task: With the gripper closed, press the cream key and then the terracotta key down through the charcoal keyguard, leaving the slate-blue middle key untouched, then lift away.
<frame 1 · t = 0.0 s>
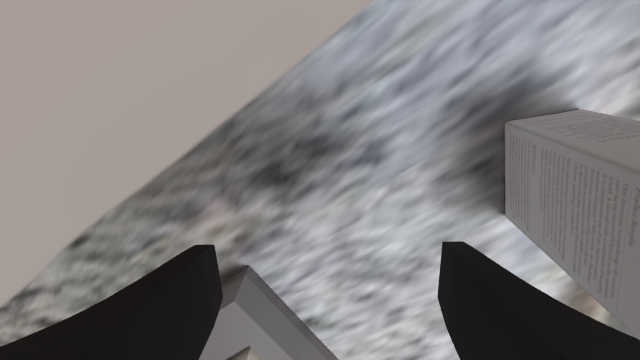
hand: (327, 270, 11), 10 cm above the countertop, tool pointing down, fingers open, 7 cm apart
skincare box: (539, 162, 20), on the countertop
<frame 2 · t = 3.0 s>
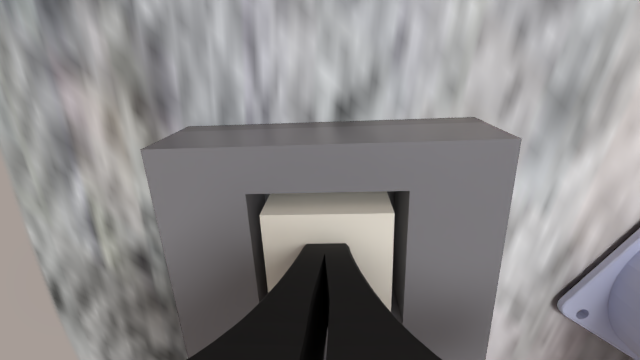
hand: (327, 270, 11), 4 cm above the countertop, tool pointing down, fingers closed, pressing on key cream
key cream: (329, 250, 12), point 3 cm above the countertop, slide at 1.0 cm, touching gripper
slotted grey tray: (335, 343, 17), on the countertop
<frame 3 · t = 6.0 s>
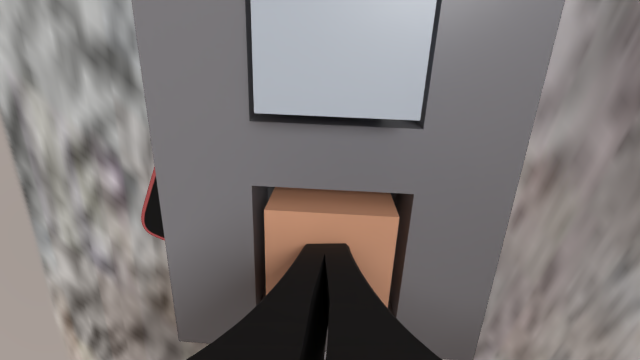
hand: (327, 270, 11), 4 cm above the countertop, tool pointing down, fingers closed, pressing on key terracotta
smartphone: (310, 220, 15), on the countertop
slotted grey tray: (339, 36, 12), on the countertop
key terracotta: (329, 249, 12), point 3 cm above the countertop, slide at 0.9 cm, touching gripper
key slate: (340, 29, 9), point 4 cm above the countertop, slide at 0.0 cm
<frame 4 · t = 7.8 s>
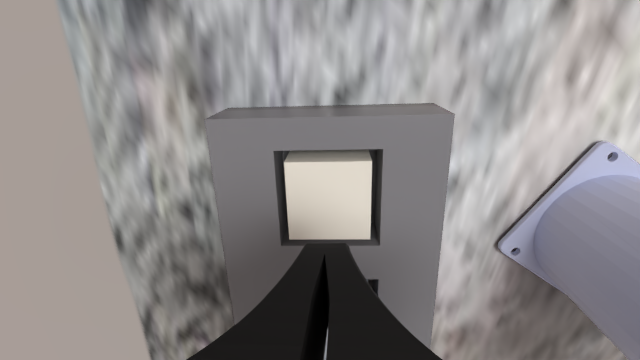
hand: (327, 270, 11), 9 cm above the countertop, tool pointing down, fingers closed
key cream: (329, 192, 17), point 2 cm above the countertop, slide at 1.3 cm
slotted grey tray: (332, 278, 22), on the countertop
key slate: (331, 320, 19), point 4 cm above the countertop, slide at 0.0 cm
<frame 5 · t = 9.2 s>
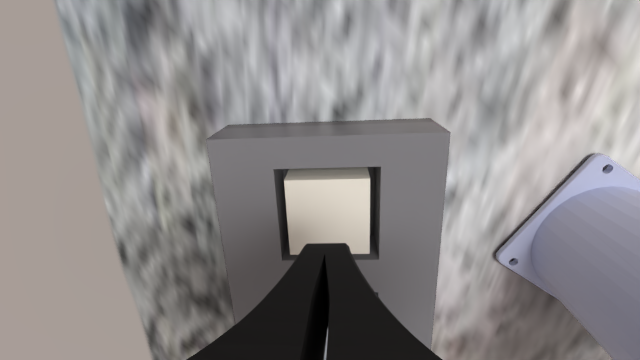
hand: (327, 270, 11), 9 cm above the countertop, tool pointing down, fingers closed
key cream: (328, 207, 18), point 2 cm above the countertop, slide at 1.3 cm
slotted grey tray: (333, 288, 22), on the countertop
key slate: (332, 332, 19), point 4 cm above the countertop, slide at 0.0 cm
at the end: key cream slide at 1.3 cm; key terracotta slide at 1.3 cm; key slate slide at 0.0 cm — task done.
